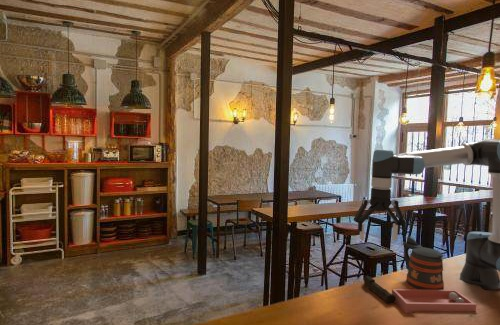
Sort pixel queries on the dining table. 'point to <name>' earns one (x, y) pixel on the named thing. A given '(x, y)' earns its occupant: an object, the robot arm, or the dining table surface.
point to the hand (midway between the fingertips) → (378, 239)
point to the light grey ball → (453, 296)
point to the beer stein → (423, 267)
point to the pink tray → (430, 300)
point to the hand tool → (379, 290)
